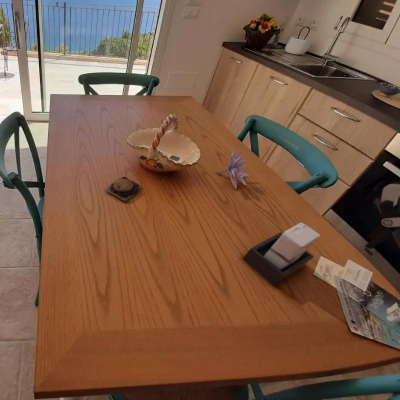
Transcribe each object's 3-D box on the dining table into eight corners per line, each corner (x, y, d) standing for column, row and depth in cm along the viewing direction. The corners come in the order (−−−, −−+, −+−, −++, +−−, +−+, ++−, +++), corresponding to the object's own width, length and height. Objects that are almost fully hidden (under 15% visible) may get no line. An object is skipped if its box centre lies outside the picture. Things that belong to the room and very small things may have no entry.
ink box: (274, 276, 69) (302, 248, 61) (257, 261, 72) (281, 232, 64) (294, 263, 72) (323, 235, 64) (276, 249, 75) (302, 221, 67)
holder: (303, 266, 72) (314, 256, 69) (273, 285, 67) (284, 276, 64) (272, 242, 78) (281, 231, 75) (242, 258, 73) (250, 248, 70)
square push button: (125, 203, 87) (127, 195, 84) (105, 191, 90) (106, 183, 88) (142, 188, 93) (145, 180, 90) (122, 177, 97) (124, 169, 94)
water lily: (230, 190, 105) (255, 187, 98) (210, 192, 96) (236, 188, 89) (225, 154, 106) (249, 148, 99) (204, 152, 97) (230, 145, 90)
